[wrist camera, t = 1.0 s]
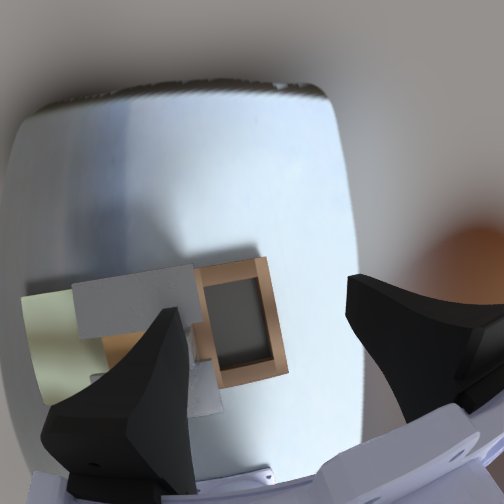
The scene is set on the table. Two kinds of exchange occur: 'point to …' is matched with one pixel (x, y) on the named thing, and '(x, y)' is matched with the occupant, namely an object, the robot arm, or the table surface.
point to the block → (119, 346)
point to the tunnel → (147, 318)
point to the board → (92, 350)
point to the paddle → (191, 345)
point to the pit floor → (236, 322)
